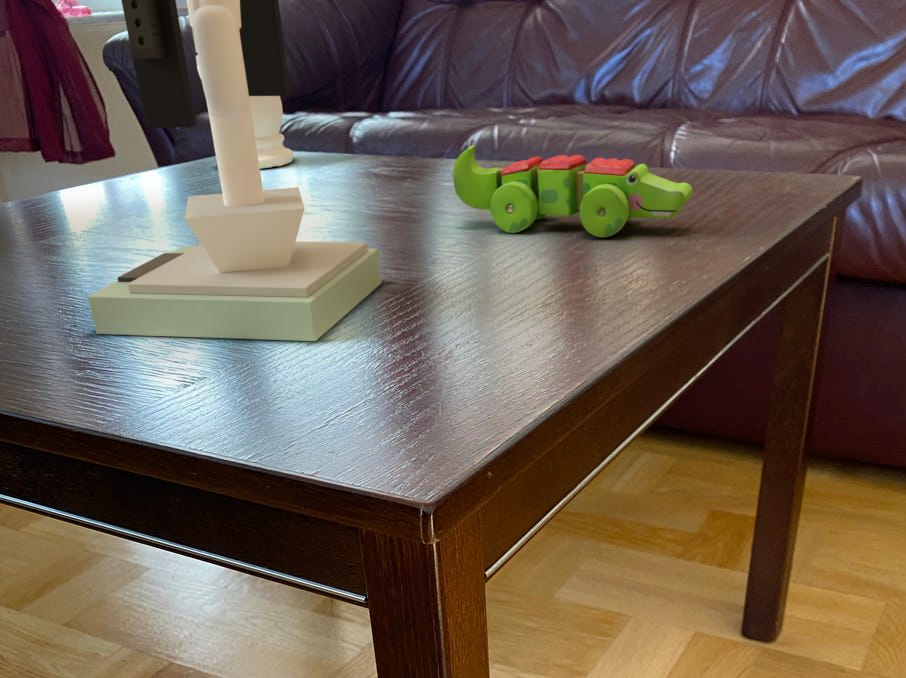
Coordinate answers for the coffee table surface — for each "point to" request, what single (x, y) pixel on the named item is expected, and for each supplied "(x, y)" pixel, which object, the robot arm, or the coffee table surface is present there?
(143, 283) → the scale
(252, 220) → the cream block with rod
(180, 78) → the robot arm
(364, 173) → the coffee table surface
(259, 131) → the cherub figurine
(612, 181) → the toy crocodile
